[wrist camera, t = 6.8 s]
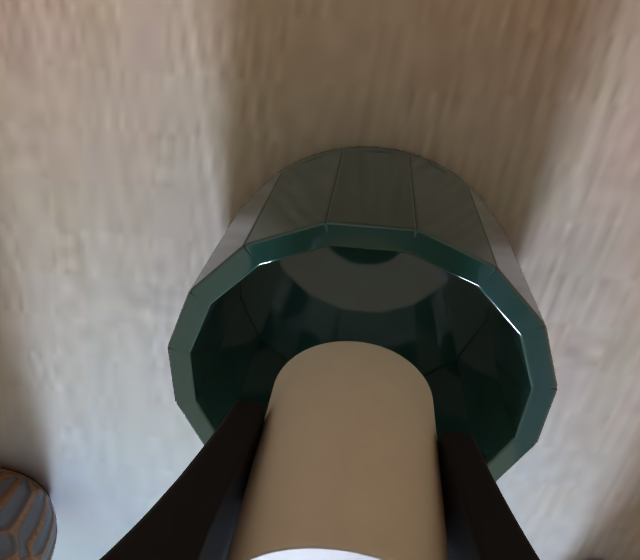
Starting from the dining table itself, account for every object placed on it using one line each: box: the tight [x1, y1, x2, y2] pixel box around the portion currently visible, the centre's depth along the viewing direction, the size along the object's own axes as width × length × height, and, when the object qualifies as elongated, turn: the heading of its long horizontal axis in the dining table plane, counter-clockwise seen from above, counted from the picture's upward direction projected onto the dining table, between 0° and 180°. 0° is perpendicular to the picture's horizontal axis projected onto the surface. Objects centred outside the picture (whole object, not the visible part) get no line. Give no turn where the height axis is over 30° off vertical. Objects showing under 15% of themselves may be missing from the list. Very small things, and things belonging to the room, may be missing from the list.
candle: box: [226, 341, 449, 560], centre depth 11 cm, size 4×4×5 cm
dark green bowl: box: [168, 147, 557, 482], centre depth 15 cm, size 10×10×6 cm
